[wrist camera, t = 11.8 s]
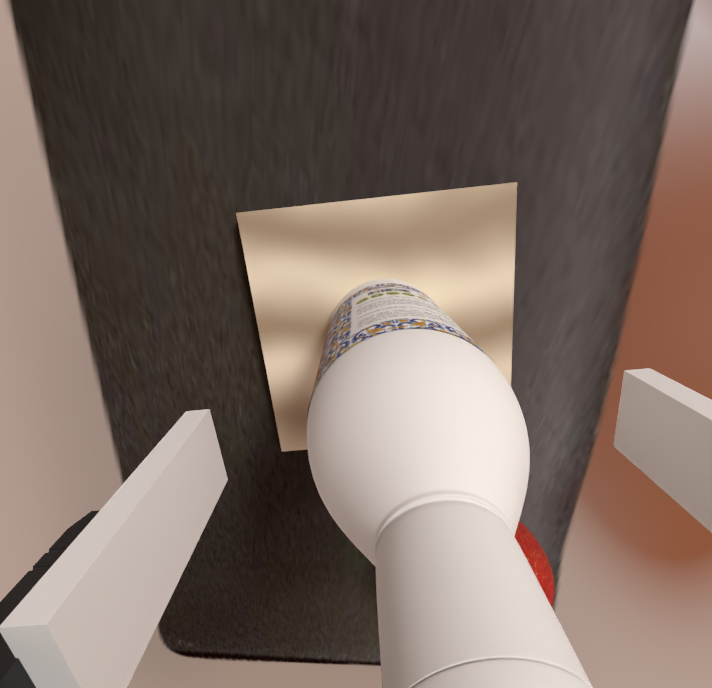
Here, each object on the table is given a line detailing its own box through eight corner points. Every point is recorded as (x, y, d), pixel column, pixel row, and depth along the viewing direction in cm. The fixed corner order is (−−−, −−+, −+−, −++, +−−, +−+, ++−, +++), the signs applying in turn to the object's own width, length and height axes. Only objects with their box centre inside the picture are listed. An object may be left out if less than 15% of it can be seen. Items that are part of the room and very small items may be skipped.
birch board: (241, 213, 22) (236, 212, 21) (510, 184, 22) (517, 182, 21) (284, 443, 27) (281, 451, 26) (503, 423, 27) (509, 431, 26)
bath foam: (311, 302, 23) (94, 696, 4) (418, 259, 22) (821, 484, 3) (353, 396, 25) (350, 965, 6) (452, 360, 24) (825, 881, 5)
